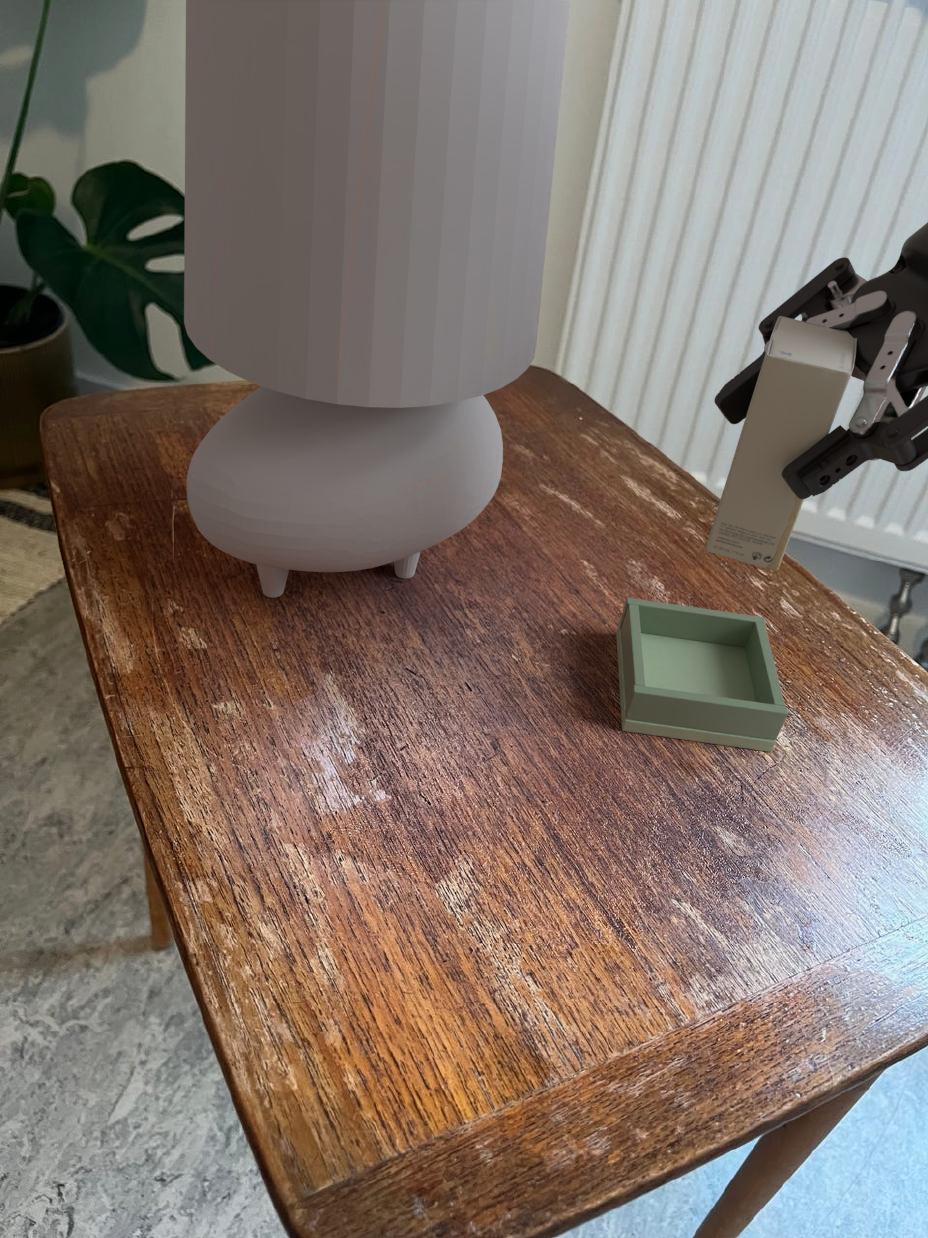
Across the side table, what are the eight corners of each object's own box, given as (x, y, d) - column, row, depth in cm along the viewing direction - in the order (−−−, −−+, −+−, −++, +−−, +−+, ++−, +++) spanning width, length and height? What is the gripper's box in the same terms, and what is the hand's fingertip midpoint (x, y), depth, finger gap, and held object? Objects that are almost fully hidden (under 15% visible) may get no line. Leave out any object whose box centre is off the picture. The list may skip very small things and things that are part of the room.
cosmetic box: (776, 575, 54) (855, 377, 47) (700, 552, 55) (764, 354, 48) (788, 520, 59) (862, 331, 51) (717, 500, 60) (779, 311, 52)
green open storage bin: (771, 752, 62) (789, 714, 60) (621, 731, 62) (634, 692, 60) (749, 652, 70) (764, 615, 68) (615, 633, 70) (626, 596, 68)
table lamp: (260, 711, 60) (239, -75, 34) (144, 526, 73) (66, -142, 47) (553, 612, 71) (702, -40, 45) (406, 467, 84) (457, -102, 58)
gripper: (919, 138, 51) (669, 346, 56) (1120, 234, 41) (794, 480, 45) (957, 240, 56) (724, 424, 61) (1146, 349, 46) (849, 561, 50)
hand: (755, 448), depth 53 cm, fingers closed on cosmetic box, 7 cm apart
